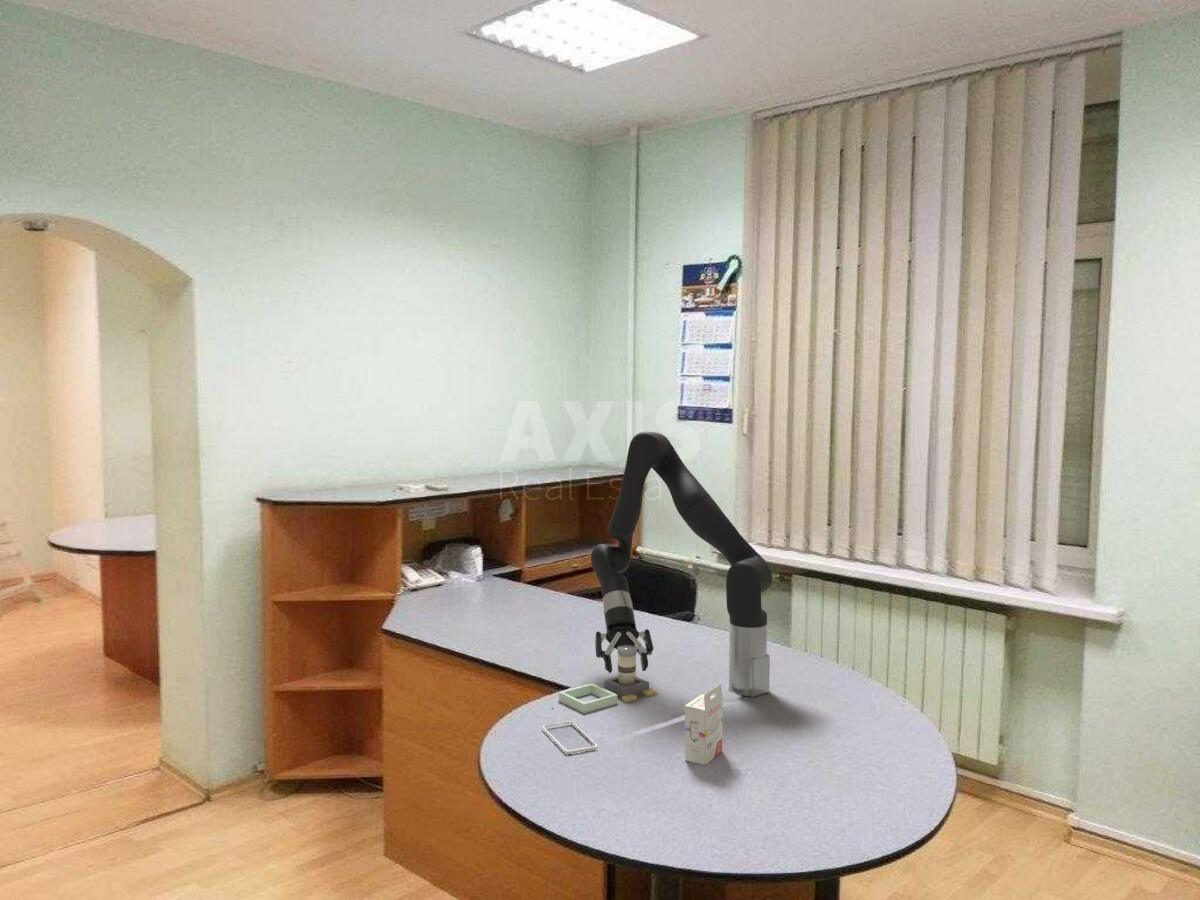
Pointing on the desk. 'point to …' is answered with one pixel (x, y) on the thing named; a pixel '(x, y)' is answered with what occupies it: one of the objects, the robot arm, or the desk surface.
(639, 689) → the holder
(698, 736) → the ink cartridge box
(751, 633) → the robot arm
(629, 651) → the grey beige cylinder
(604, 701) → the tray
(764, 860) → the desk surface
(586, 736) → the phone case
